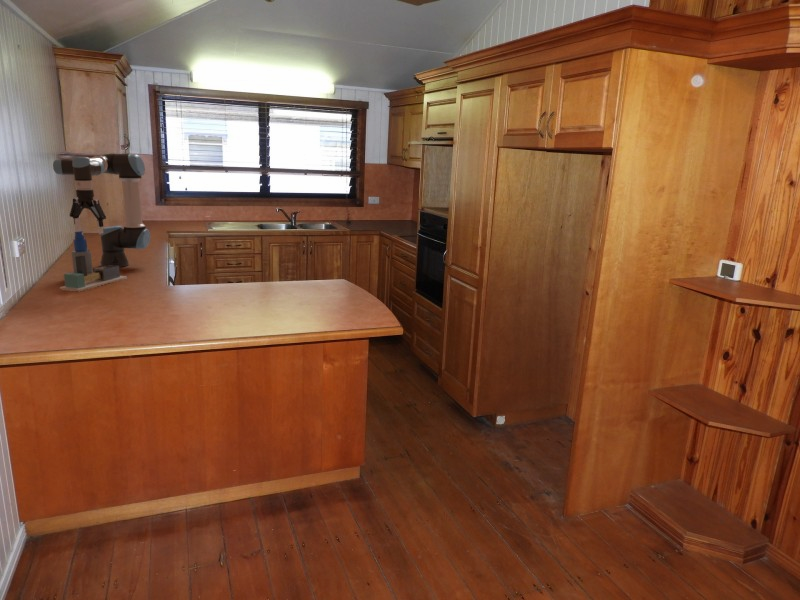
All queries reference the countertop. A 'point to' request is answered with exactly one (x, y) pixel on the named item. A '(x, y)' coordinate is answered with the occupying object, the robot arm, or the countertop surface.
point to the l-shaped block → (82, 269)
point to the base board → (94, 284)
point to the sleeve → (108, 272)
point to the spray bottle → (81, 252)
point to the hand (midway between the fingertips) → (89, 232)
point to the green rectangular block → (74, 280)
